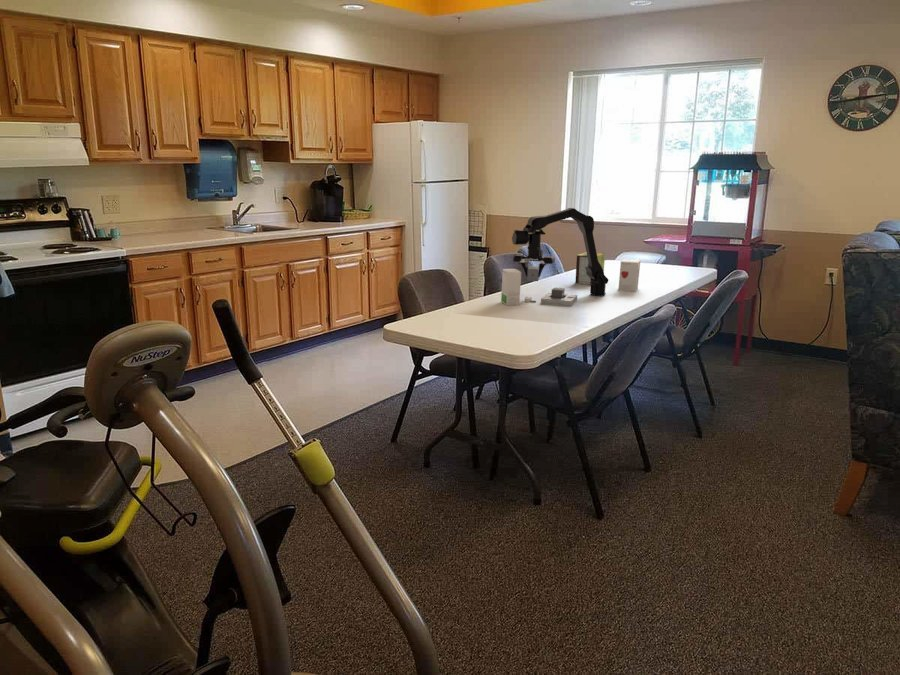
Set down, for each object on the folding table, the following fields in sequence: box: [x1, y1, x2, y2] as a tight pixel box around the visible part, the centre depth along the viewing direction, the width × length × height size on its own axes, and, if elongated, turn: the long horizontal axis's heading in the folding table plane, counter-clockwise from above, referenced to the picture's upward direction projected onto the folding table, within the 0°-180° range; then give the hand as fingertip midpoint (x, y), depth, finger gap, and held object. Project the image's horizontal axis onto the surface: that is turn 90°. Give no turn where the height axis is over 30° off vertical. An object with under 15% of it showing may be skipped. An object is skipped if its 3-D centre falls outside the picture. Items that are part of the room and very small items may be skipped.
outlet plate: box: [540, 292, 578, 307], centre depth 301 cm, size 14×14×3 cm
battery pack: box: [526, 265, 539, 282], centre depth 307 cm, size 5×9×6 cm, turn 170°
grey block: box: [551, 287, 565, 298], centre depth 302 cm, size 5×5×7 cm
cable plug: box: [524, 296, 537, 303], centre depth 302 cm, size 5×3×2 cm, turn 68°
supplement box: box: [618, 258, 641, 292], centre depth 330 cm, size 9×9×15 cm
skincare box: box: [500, 268, 522, 307], centre depth 296 cm, size 8×7×16 cm
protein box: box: [574, 252, 606, 286], centre depth 348 cm, size 10×15×16 cm
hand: (533, 277), depth 307 cm, fingers closed on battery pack, 5 cm apart
